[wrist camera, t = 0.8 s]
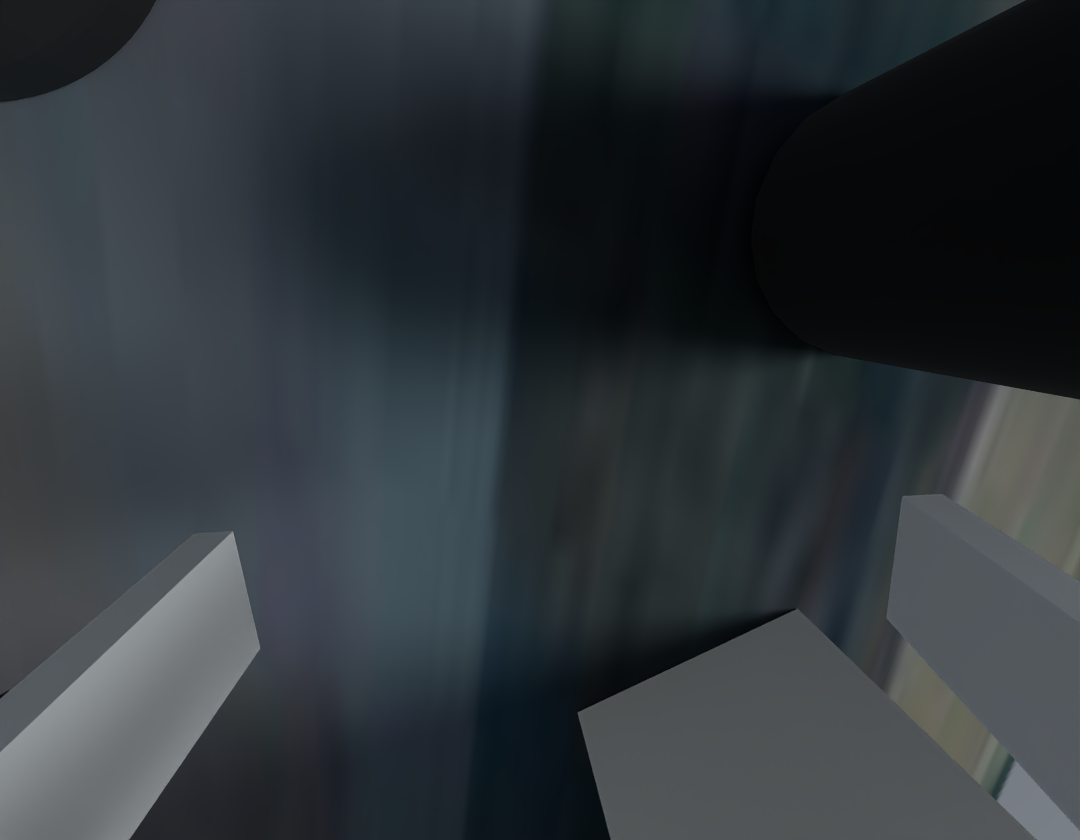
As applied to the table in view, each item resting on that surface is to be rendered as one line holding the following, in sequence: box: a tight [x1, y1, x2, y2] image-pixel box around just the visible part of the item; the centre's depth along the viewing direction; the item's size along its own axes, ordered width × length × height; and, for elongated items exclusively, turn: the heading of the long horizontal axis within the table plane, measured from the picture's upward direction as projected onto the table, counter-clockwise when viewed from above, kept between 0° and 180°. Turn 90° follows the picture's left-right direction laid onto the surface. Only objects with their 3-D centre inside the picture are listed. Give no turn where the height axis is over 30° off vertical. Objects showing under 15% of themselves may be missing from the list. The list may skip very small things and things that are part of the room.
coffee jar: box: [751, 0, 1080, 399], centre depth 17 cm, size 11×11×18 cm
